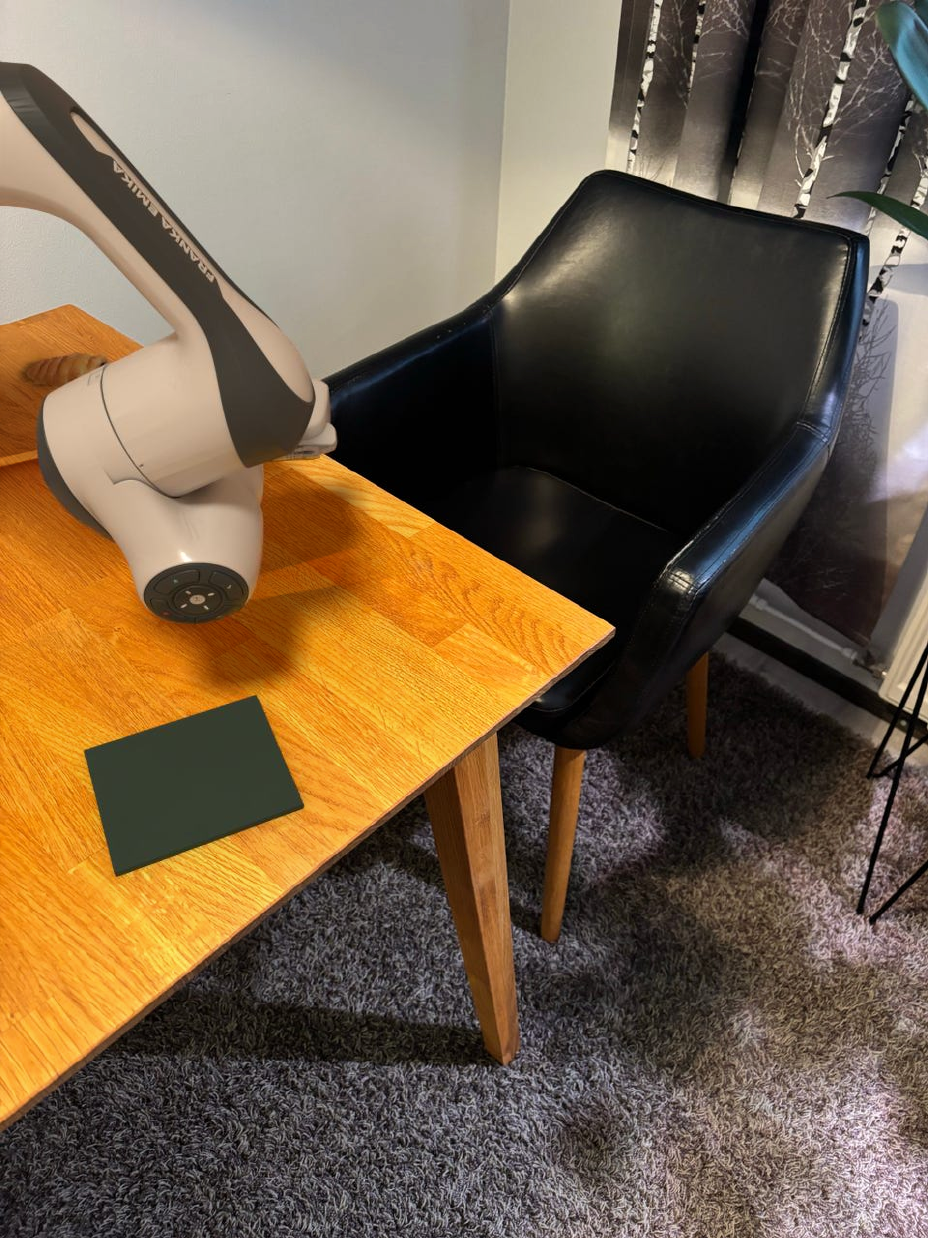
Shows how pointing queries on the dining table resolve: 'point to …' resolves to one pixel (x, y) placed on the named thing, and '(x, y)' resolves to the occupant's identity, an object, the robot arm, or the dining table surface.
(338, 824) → the dining table surface
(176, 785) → the mat
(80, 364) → the pastry
